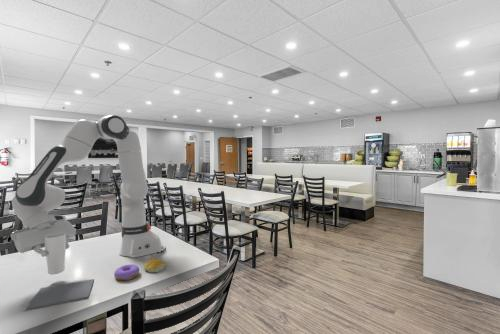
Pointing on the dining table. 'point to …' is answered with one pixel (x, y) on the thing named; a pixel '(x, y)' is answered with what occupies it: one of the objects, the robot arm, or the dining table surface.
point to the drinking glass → (55, 253)
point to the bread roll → (154, 265)
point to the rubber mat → (61, 294)
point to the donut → (126, 272)
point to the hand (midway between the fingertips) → (56, 251)
